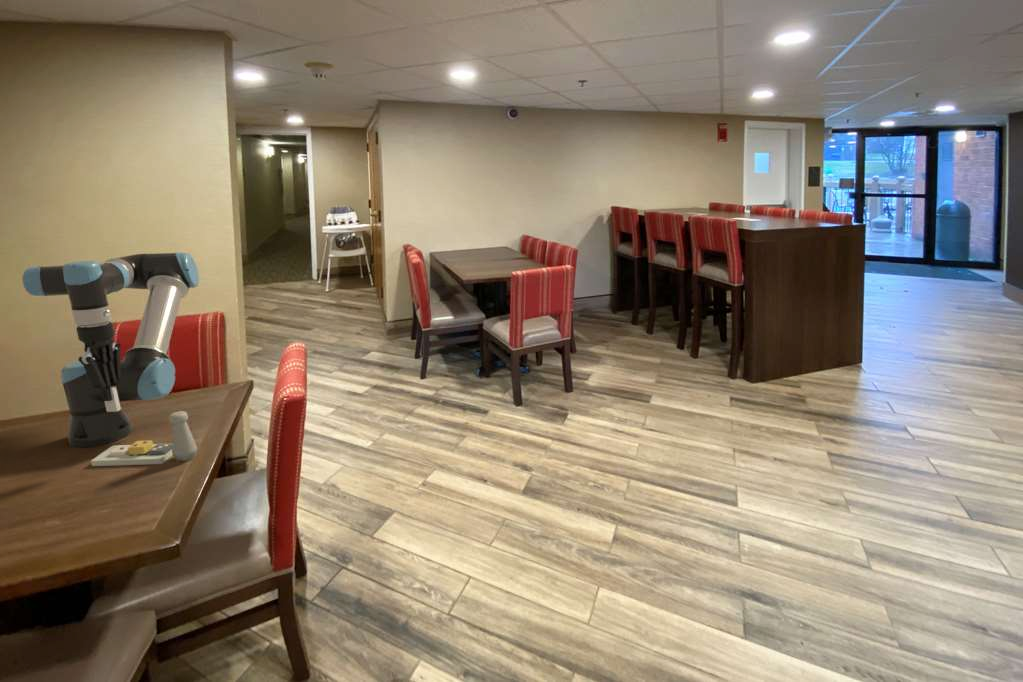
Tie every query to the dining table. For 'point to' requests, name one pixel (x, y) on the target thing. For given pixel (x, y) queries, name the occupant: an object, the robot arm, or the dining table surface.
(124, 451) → the tile
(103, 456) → the tile board
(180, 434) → the salt shaker
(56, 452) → the dining table surface
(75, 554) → the dining table surface
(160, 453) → the tile
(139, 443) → the tile
